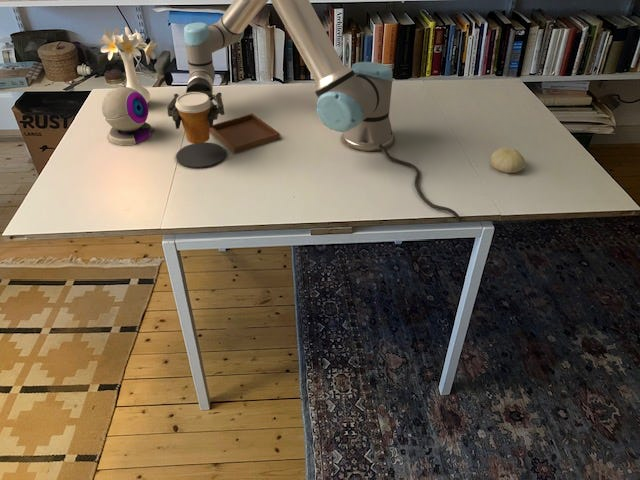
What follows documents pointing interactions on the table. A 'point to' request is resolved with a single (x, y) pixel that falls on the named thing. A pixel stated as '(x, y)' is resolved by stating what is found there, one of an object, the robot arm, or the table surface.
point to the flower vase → (128, 54)
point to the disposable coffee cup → (195, 116)
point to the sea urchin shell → (507, 160)
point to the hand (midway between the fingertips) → (193, 123)
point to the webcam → (126, 116)
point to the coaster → (200, 155)
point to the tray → (244, 133)
